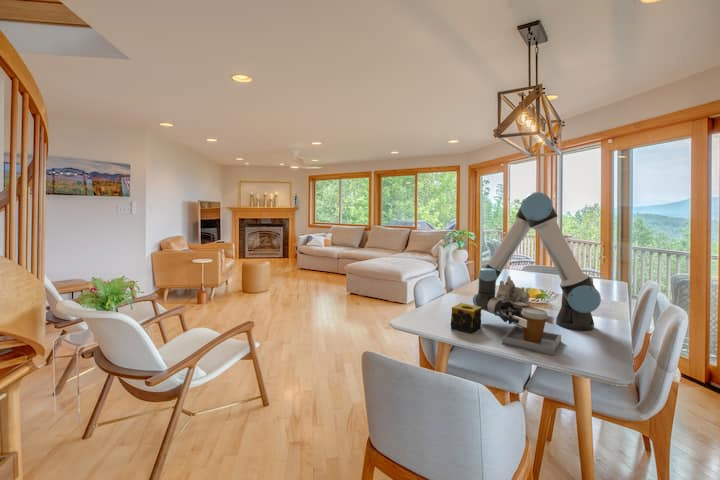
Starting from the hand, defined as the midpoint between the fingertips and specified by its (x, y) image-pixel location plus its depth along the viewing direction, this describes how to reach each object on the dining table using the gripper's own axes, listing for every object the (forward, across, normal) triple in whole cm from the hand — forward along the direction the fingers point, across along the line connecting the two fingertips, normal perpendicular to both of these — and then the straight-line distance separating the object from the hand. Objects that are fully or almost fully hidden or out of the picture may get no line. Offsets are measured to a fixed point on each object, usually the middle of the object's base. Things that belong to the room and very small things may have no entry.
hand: (540, 322), depth 142 cm
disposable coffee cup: (-4, 0, -9) cm, 9 cm away
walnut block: (-25, -15, -9) cm, 31 cm away
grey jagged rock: (-55, -38, -10) cm, 68 cm away
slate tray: (-3, 0, -9) cm, 10 cm away
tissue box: (-25, +15, -10) cm, 31 cm away
